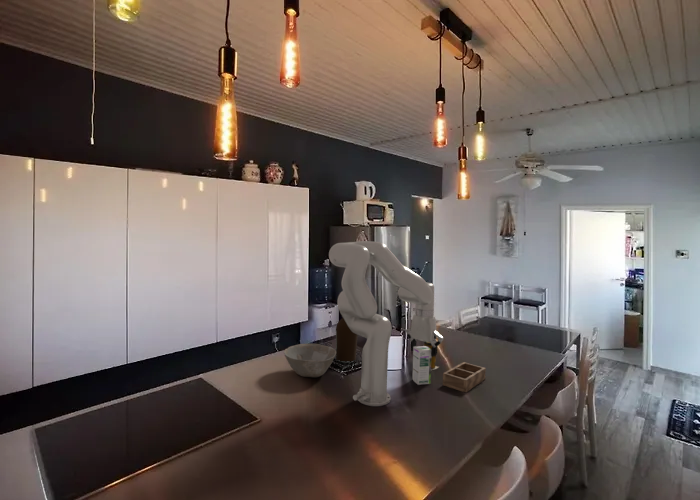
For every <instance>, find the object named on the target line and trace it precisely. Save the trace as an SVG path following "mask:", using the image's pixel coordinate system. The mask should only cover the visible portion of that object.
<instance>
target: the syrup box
mask: <svg viewBox="0 0 700 500" xmlns="http://www.w3.org/2000/svg"><path fill="white" fill-rule="evenodd" d="M412 352H413V353H412V380H413V382H414V383H415V384H417V386H420V385H431V381H432V379H431V378H432V370H431V349H430V348H429V347H427V346H424V345H423V346H416V347H413V351H412Z"/></svg>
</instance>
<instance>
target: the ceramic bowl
mask: <svg viewBox="0 0 700 500" xmlns="http://www.w3.org/2000/svg"><path fill="white" fill-rule="evenodd" d="M283 354H284V357H285V359H286V361H287V362H288V364H289V365H290V367H291V369H292V370H293V371H294V372H295V373H296V374H297V375H298V376H301V377H303V378H320V377H322V376H323V375H324V374H325V373H326V372H327V371H328V369H329V368H330V366H331V364H333V361H334V359H335V358H336V348H333V347H330V346H328V345H324V344H319V343H299V344H295V345H291V346H288V347H287V348H285V349H284V350H283Z"/></svg>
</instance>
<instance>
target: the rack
mask: <svg viewBox="0 0 700 500" xmlns="http://www.w3.org/2000/svg"><path fill="white" fill-rule="evenodd" d="M486 373H487V370H486V367H483V366H479V365H476V364H471V363H468V362H465V361H464V362H461V363H459V364H457V365H455V366H453V367H452V368H450V369H448V370H447V371H444V372H443V373H442V386H445V387H447V388H450V389H452V390H457V391H459V392H462V393H467V392H469V391H470V390H472V389H474V388H475V387H476V386H478V385H480V384H481V383H482V382H484V381H485V380H486Z"/></svg>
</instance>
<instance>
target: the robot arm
mask: <svg viewBox="0 0 700 500" xmlns="http://www.w3.org/2000/svg"><path fill="white" fill-rule="evenodd" d="M328 251H329V252H328V258H329V261H330V262H331V264H332V265H333V266H336V267H339V268H344V271H343V275H342V278H341V289H342V291H341V292H339V294H338V296H337V308H338V311H339V313H340V315H341V317H342V318H344V320H345V322H346V323H347V325H348V327H349V328H350V330H351V331H352V332H353V333H355V334H357V335H358V336H360V337H363V338H365V339H366V341H365V344H364V345H363V347H362V352H361V375H360V376H361V377H360V378H361V381H360V383H361V384H360V388H359V391H358V392H357V393H355V394H354V395H353V396H352V399H353V400H354V401H355V402H356V401H358V403H361V404H363V405H365V406H370V407H382V406H385V405H387V404H389V403H390V402H391V398H392V397H391V394H389V392H388V391H387V390H388V389H387V388H388V365H389V363H388V362H389V345H390V340H391V336H392V331H393V330H392V329H393V325H392V323H391V321H390V319H388V318H387V317H386V316H384V315H382V314H378V313H377V312H378V304H377V301H376V299H375V297H374V295H373V293H372V292H371V289H370V287H369V285H368V283H367V280H366V272H367V269H368V266H369V265H371V266H372V267H373V268H375V270H377V272H378V273H379V274H380V275H381V276H382V278H383V279H384V280H386V281H387V282H388V283H390V284H392V285H394V286H397V287H398V290H397V296H398V297H399V299H400V300H401V301H403V302H406V303H410V304H414V305H415V307H414V308H413V309H412V311H413V312H414V314H413V316H412V320H411V326H410V327H409V328H407V329H405V333H406V335H407V338H408V339H409V342H410V351H411V352H413V347H417V340H418V341H421V342H424V341H425V342H430V343H431V344H432V346H433V347H431V356H432V357H434V356H436V357H437V354H438V346H440V345H441V344H442V342H443V341H444V337H443V336H442V334H440V333H439V332H438V331H437V321H436V316H435V315H434V314H435V285H434V284H433V283H431V282H426V280H425V279H424V278H423V277H421V276H420V275H419V274H417V273H415V272H414V271H413V270H411V269H410V268H408V267H407V266H405V265H403V264H402V262H401V261H400V260H399V258H397V257H396V255H395V254H394V253H393V252H392V251H391V250H390V249H389V247H388V246H387V245H386V244H385V243H383V242H381V241H368V240H361V241H360V240H359V241H348V242H337V243H335V244H333V245H332V246H331V248H330V249H329V250H328ZM437 339H438V340H437Z"/></svg>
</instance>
